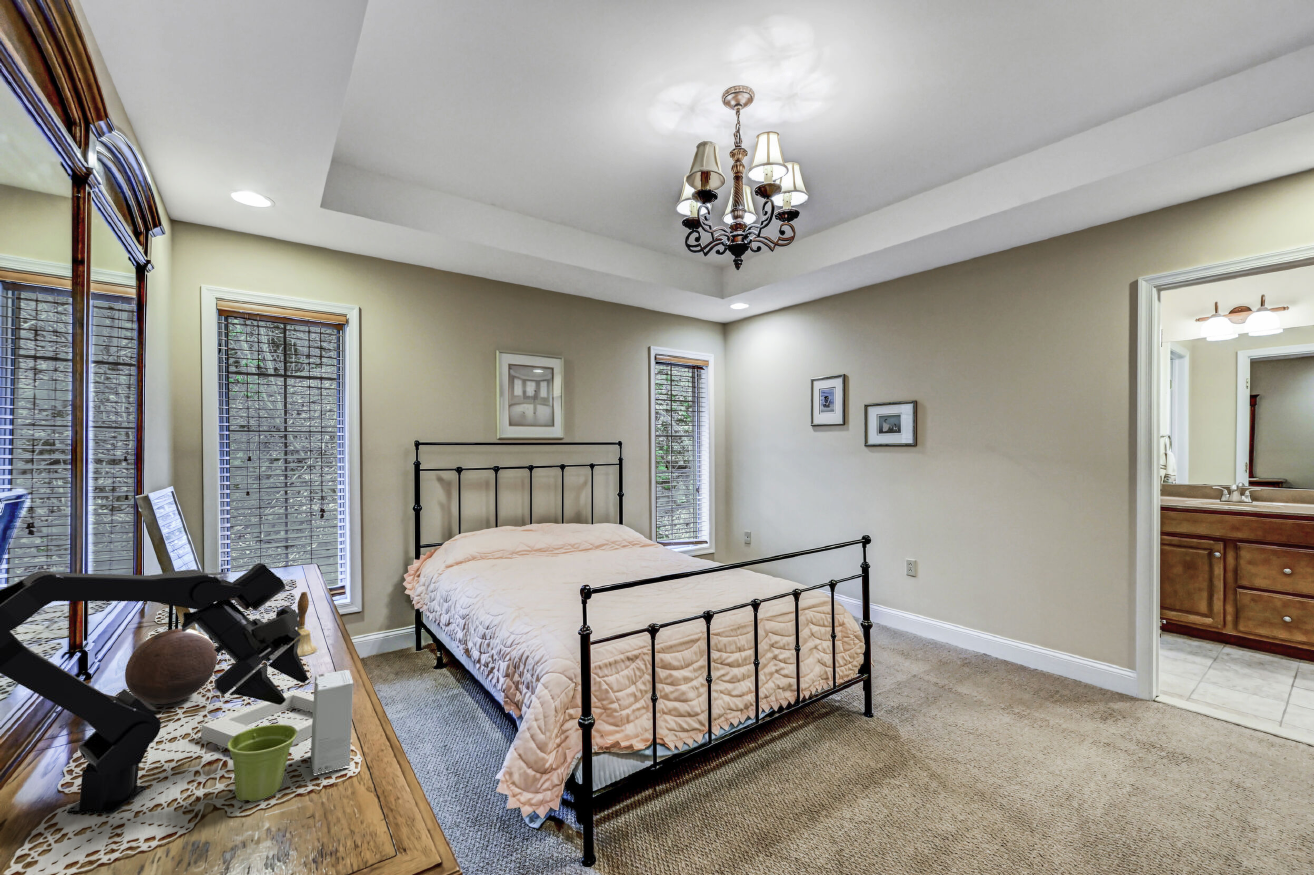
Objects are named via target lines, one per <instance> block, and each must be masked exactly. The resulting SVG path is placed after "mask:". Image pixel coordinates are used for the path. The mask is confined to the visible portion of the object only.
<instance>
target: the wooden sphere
mask: <svg viewBox="0 0 1314 875" xmlns="http://www.w3.org/2000/svg"><path fill="white" fill-rule="evenodd" d="M213 642H214V641H213V640H212V639H211V638H210V637H209V636H208V635H207V634H206V635H205V633H204V632H200V631H198V630H195V629H191V628H189V629H188V630H186V631H182V630H181V628H174V629H168V630H163V631H162V632H158V633H156V634H154V635H153V636H150V637H149V638H148V639H146V640H145V641H144V642H142V643H141V644H139V646H138V647H136V649H135V650H134V652H132V654H131V656H130V657H129V659H128V661H127V664H126V667H125V670H124V671H125V672H124V679H125V683H126V684H125V685H126V686H127V688H128V690H129V692H130V693H131V694H132V695H134V696H135V697H136V698H138V699H141V700H144V701H146V702H147V703H148V704H155V705H166V704H172V703H177V702H180V701H183V700H185V699H186V698H188V697H190V696H193V694H195V693H197V692H198V691H200V689H202V688H203V687H204V686H205V684H207V683H208V681H209V680H210V679H211V677H212V675H213V674H214V672H215V669H216V666H217V661H218V660H217V659H218V656H217V655H218V653H217V652H216V651H215V650H214V649H215V648H216V646H215V644H214V643H213Z"/></svg>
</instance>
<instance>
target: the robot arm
mask: <svg viewBox="0 0 1314 875" xmlns="http://www.w3.org/2000/svg"><path fill="white" fill-rule="evenodd" d="M285 590H286V585H285V583H284V581H283V579H281V577H280V576H277V574H275V572H273V571H272V570H271V569H269V568H268V567H267V565H266V564H265V563H261V562H258V563H256V564H255V565H253V566H252V567H251V568H250V569H249V570H247V571H246V572H245V573H243V574H242V575H240V576H239V577H238V578H236V579H235V580H233V581H232V582H231V581H230V580H226V579H220V578H218V577H217V576H216V575H213V574H211V573H208V572H205V571H203V570H199V569H183V570H173V571H167V572H163V573H158V574H150V575H149V574H148V575H145V574H144V575H143V574H112V573H110V574H109V573H83V572H82V573H80V572H79V573H78V572H77V573H74V572H54V571H51V570H38V571H36V572H32V573H30V574H29V575H28V576H25V577H23V578H21V579H20V580H18V581H16V582H15V583H12V584H9V585H8V586H5V587H3V588H0V675H3V676H4V677H6V678H8V679H10V680H12V681H13V682H15V683H17V684H18V685H21V686H22V687H24V688H26V689H27V690H29V691H32V693H34V694H36V695H39V696H40V697H42V698H44V699H46V700H48V701H49V702H51V703H53V704H55V705H56V706H58V707H60V708H62V709H63V710H66V711H67V712H69V713H71V714H72V715H74V716H76V717H78V718H80V719H81V720H83V721H85V722H86V723H87V724H89V725H90V727H92V729H94V730H95V731H94V732H92V734H91V735H89V736H88V737H87V738H86V739H85V740H84V741H82V743H81V744H79V746H78V750H79V752H80V754H81V757H82V758H83V759H84V760H86V761H87V762H88V763H87V764H86V765H85V768H84V769H83V770H82V771H81V781H80V782H81V783H80V793H79V794H80V795H79V801H78V802H76V803H75V804H74V805H71V807H69V808H68V809H67V813H68V814H102V815H103V814H105V815H109V814H113V813H114V812H116V811H118V810H119V809H121V808H122V807H123V806H125V805H126V804H128V803H129V802H130V801H132V800H133V799H135V798H136V797H138V796H139V795H140V794H142V793H143V792H145V791H146V790H147V786H146V785H138V778H139V766H140V764H141V762H142V761H143V759H144V757H145V754H146V752H147V750H148V748H149V746H150V745H151V744H152V743H153V742H154V741H155V739H156V738H157V737H158V735H159V733H160V731H161V725H162V722H161V719H159V717H158V716H156V714H158V713H159V710H158V709H157V708H155V707H154V706H153V705H151V703H148V702H146V701H144V700H141V699H138V698H137V697H135V696H134V695H133V694H132V693H131V692H130V691H128V690H127V689H126V688H124V689H123V688H122V690H121V691H120V692H119V694H117V696H115V695H110V694H106V693H104V692H102V691H100V690H99V689H97V688H95V687H93V686H92V685H90V684H89V683H87V682H85V681H84V680H82V679H80V678H79V677H78V676H75V675H74V674H72V673H70V672H69V671H67V670H66V669H64V668H62V667H61V666H59V665H57V664H55V663H54V662H52V661H50V660H48V659H47V658H45V657H44V656H42V655H40V654H39V653H37V652H36V651H34V650H32V649H31V648H29V647H27V646H26V645H24V643H22V642H21V641H20V639H18V638H17V637H16V636H15V635H14V634H13V633H12V632H11V631H13V630H15V629H16V628H18V627H19V626H21V625H22V624H23V623H25V622H26V621H27V620H28V619H30V618H31V617H33V616H34V615H35V614H36V613H38V612H39V611H40V610H41V609H43V608H44V607H47V606H48V605H49V604H51V603H53V602H151V603H156V604H157V603H159V604H163V605H166V606H167V605H169V606H172V607H177V608H186V609H191V610H194V611H192V612H187V611H185V612H183V613H182V625H181V628H180V629H181V630H182V631H186V630H188V629H191V628H192V627H193V626H194V625H197V626H198V628H199V629H201V630H202V631H203V633H204V634H206V636H207V637H208V638H209V639H210V640H211V641H212V642H214V643H215V644H216V645H217V646H216V647H215V649H214V650H215V651H216V652H217V655H218V654H221V653H222V652H225V654H227V655H228V656H229V657H230V659H232V660H233V661H234V663H233V664H232V665H231V666H230V667H228V668H227V669H226V670H225V671H224V672H223V673H222V674H220V675H219V676H218V677H217V678H216V679H215V680H214V689H215V691H217V692H218V694H220V695H221V697H223V696H225V695H226V694H229V695H230V696H231V697H232V696H239V697H245V698H251V699H253V700H259V701H262V702H264V701H266V702H270V703H274V704H278V705H281V704H283V703H284V702H285V701H286V699H285V697H284V696H283V694H284V693H283V692H281V690H280V689H279V688H278V687H277V685H276V684H275V683H274V682H273V681H272V679H271V678H270V677H269V676H268V667H269V668H271V669H274V670H275V671H277V672H279V673H281V674H283V675H285V676H287V677H288V678H291V679H292V680H295V681H297V682H298V683H302V684H305V683H306V682H307V681H309V676H308V674H307V672H306V669H305V668H304V665H303V663H302V661H301V658H300V657H299V656H298V653H297V649H298V644H299V642H300V638H299V639H298V640H297V641H295V642H294V643H293V641H294V640H296V639H297V638H298V637H299V636H300V635H301V634H300V633H299V632H298V631H297V627H300V624H299V621H298V619H299V616H300V613H298V611H296V609H293V608H292V607H291V606H289V605H287V606H285V607H282V608H280V609H278V610H277V611H276V612H275V613H276V614H275V617H272V618H271V619H269V620H267V621H264V622H263V621H262V620H261V619H260V618H257V617H256V618H253V619H252V620H251V619H250V618H249V617H248V616H247V615H246V614H245V612H243V611H242V610H244V611H249V610H250V609H252V610H253V611H258V610H259V609H260V608H261V607H263V606H264V605H265V604H267V603H269V602H270V601H271V600H272V599H274V598H275V597H276V596H278V595H279V594H280V593H281V592H283V591H285ZM232 600H234V602H233V601H232ZM235 603H236V604H237V605H238V606H237V605H236V604H235ZM239 607H240V608H241V609H242V610H241V609H240V608H239ZM270 661H271V662H270ZM263 662H266V663H265V664H263ZM262 664H263V665H262ZM261 665H262V666H261ZM229 692H230V693H229Z"/></svg>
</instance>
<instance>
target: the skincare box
mask: <svg viewBox="0 0 1314 875" xmlns="http://www.w3.org/2000/svg"><path fill="white" fill-rule="evenodd" d="M313 689H314V691H313V695H314V702H313V713H312V718H313V719H312V718H311V719H312V737H311V740H310V741H311V743H310V744H311V745H310V759H311V762H310V763H311V768H312V775H313V776H315V775H314V774H318V773H322V772H326V771H330V770H335V769H338V768H343V767H345V766H350V767H351V747H352V746H351V745H352V722H353V721H352V720H353V718H352V717H353V694H354V693H353V692H354V681H353V678H352V674H351V672H350V669H346V670H337V671H333V672H327V673H322V674H316V675H315V676H314V688H313ZM326 773H327V772H326ZM322 774H323V773H322Z"/></svg>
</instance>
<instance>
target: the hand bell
mask: <svg viewBox="0 0 1314 875" xmlns="http://www.w3.org/2000/svg"><path fill="white" fill-rule="evenodd" d="M309 603H310V601H309V597H308V592H307V591H302V592H301V593H300V595H299V598H298V601H297V605H296V606H297V612H298V613H300V616H299V617H298V621H299V624H300V627H296V630H297V631H298V632H299V633H300V634H301V635H300V636H299V637H298V638H297V639H296V640H294V641H293V643H294V642H295V641H297V640H298V639H299V638H300V642H299V644H298V649H297V653H298V656H299V658H300V657H305V656H309V655H312V654H314V653H316V652H317V650H318V648H317V646H315V645H314V644H313V641H312V639H311V631H310V630H309V629H306V628H305V627H306V626H305V625H306V614H307V612H308V610H309Z"/></svg>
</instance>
